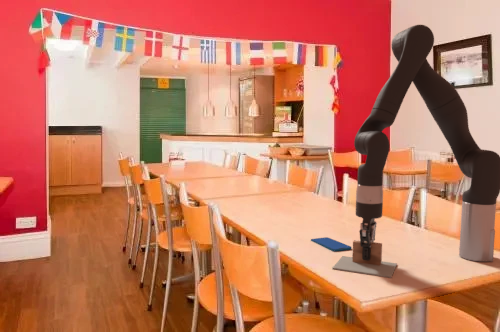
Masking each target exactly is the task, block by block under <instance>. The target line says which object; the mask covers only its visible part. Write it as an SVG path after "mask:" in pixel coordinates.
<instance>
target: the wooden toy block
mask: <svg viewBox="0 0 500 332" xmlns="http://www.w3.org/2000/svg"><path fill="white" fill-rule="evenodd" d="M364 243H367V241H364ZM362 250H363V247H361V245H360V239H359V240H357V239H355V240H353V241H352V257H353V258H352V262H358V263H365V264H373V265H381V263H382V261H383V260H382V259H383V243H382V242H375V241H374V242H371V255H370V260H369V261H368V260H363V259H362Z"/></svg>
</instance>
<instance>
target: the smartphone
mask: <svg viewBox="0 0 500 332" xmlns="http://www.w3.org/2000/svg"><path fill="white" fill-rule="evenodd" d="M310 242H313V243H314V244H317V245H319V246H321V247H322V248H325V249H326V250H329V251H332V252H342V251H350V250H352V246H350V245H347V244H345V243H342V242H340V241H337V240H336V239H332V238H331V237H318V238H317V237H316V238H310Z"/></svg>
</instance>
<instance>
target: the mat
mask: <svg viewBox="0 0 500 332" xmlns="http://www.w3.org/2000/svg"><path fill="white" fill-rule="evenodd" d="M352 258H353V256H346V255H342V256H341V257H340V258H339V260H338V261H337V262H336V263H335V264H334V265H333V266H332V270H336V271H342V272H349V273H357V274H363V275H369V276H376V277H383V278H392V277H393V274H394V272H395V271H396V268H397V265H398V263H396V262H391V261H383V260H382V263H381V265H373V264H365V263H358V262H352Z"/></svg>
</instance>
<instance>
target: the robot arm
mask: <svg viewBox="0 0 500 332" xmlns="http://www.w3.org/2000/svg"><path fill="white" fill-rule="evenodd" d="M434 43H435V36H434V32H433V30H432V29H431V28H430V27H429V26H427V25H425V24H415V25H412V26H410V27H408V28H406V29H403V30H402V31H400V32H398V33H396V34H395V35H394V36H393V38H392V41H391V50H392V53H393V56H394V58H395V59H396V61H397V62H398V63H397V65H396V67H395V68H394V71H393V72H392V73H391V75H390V76H389V78H388V80H387V81H386V82H385V84H383V86H382V87H381V89H380V91H379V93H378V95H377V96H376V99H375V102H374V104H373V106H372V108H371V111H370V114H369V115H368V117H367V118H366V119H365V120H364V122H363V123H362V125H361V126H360V128H359V129H358V131H357V133H356V134H355V136H354V141H353V145H354V149H355V151H356V152H357V153H358V154H360V155H364V156H366V158H365V163H362V164H360V165H359V166H358V168H357V187H356V193H355V194H356V195H355V216H357V217H358V218H361V219H362V221H361V222H360V224H359V225H360V226H359V228H360V229H359V231H358V232H359V241H360V245H361V247H363V250H362V259H363V260H368V261H369V260H370V255H371V242H375V240H376V232H377V231H376V230H377V224H378V223H377V221H376V220H375V219H381V218H382V217H383V209H384V208H383V207H384V203H383V202H384V190H383V189H384V188H383V187H384V186H383V183H384V169H385V166H386V164H387V160H388V157H389V152H390V140H389V137H388V135H387V134H386V133H384V132H383V131H384V130H385V129H387V128H389V127H391V126H392V125H393V124H394V123H395V120H396V119H397V116H398V113H399V111H400V109H401V106H402V103H403V102H404V99H405V97H406V95H407V93H408V90H409V89H410V86H411V85H412V84H413V85H414V87H415V88H416V90H417V91H418V93H419V95H420V97H421V99H422V100H423V102H424V104H425V105H426V108H427V109H428V111H429V112H430V115H431V116H432V118H433V120H434V122H435V123H436V125H437V126H438V127H439V130H440V132H441V133H442V134H443V136H444V138H445V140H446V141H447V143H448V145H449V147H450V150H451V151H452V154H453V156H454V158H455V161H456V163H457V166H458V168H459V170H460V171H461V173H462V175H464V176H466V177H467V178H470V186H469V189H467V190H465V191H463V193H462V198H461V200H462V201H461V213H460V214H461V216H460V217H461V218H460V230H459V231H460V234H459V247H458V248H459V249H458V255H459V257H460V258H463V259H465V260H469V261H474V262H491V263H492V262H494V255H495V254H494V253H495V237H496V230H495V228H496V227H495V226H496V225H495V224H496V212H497V211H496V210H497V209H496V208H497V199H498V197H499V195H500V155H499V153H497V152H496V151H493V150H489V149H488V150H487V149H481V147H480V146H479V145H478V144H477V142H476V141H475V139H474V137H473V136H472V133H471V131H470V129H469V128H470V127H469V117H468V111H467V106H466V104H465V102H464V101H463V100H462V98H461V96H460V94H459V92H458V90H457V89H456V88H455V86H454V85H452V84H451V83H450V82H449V81H448V80H447V79H445V78H444V77H443V76H442V75H440V74H439V73H438V72H437V71H435V70H434V68H433V66H431V65H430V63H429V61H428V59H427V58H428V56H429V55H430V54H431V51H432V50H433V48H434V45H435V44H434ZM364 241H367V243H364Z"/></svg>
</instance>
